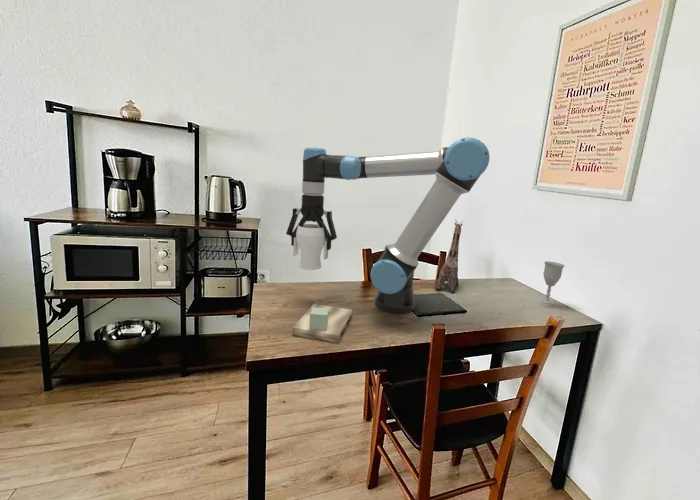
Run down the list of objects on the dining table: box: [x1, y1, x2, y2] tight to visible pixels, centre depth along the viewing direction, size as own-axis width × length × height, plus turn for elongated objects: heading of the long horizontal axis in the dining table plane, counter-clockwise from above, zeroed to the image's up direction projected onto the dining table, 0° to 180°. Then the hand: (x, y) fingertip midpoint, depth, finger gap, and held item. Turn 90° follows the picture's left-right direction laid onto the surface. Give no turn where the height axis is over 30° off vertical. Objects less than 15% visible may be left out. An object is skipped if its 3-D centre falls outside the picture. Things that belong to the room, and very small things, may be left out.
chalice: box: [538, 260, 566, 309], centre depth 144 cm, size 7×7×18 cm
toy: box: [434, 219, 464, 294], centre depth 157 cm, size 9×26×30 cm, turn 156°
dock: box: [292, 303, 354, 344], centre depth 113 cm, size 14×20×2 cm
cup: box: [296, 223, 326, 271], centre depth 126 cm, size 11×11×15 cm
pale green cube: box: [309, 307, 329, 331], centre depth 106 cm, size 5×5×5 cm
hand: (310, 256), depth 127 cm, fingers closed on cup, 11 cm apart
